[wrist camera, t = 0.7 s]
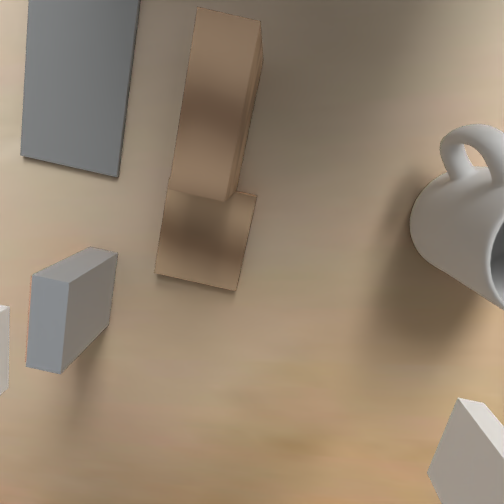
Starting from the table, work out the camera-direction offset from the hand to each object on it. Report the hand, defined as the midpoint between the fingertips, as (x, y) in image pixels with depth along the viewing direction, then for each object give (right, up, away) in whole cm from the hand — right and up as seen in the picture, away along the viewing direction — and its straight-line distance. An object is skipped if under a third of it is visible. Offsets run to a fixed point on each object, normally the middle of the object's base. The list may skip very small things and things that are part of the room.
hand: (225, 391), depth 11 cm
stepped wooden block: (-2, +10, +19) cm, 22 cm away
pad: (-13, +18, +18) cm, 28 cm away
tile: (-13, +1, +22) cm, 26 cm away
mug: (+17, +8, +19) cm, 27 cm away
